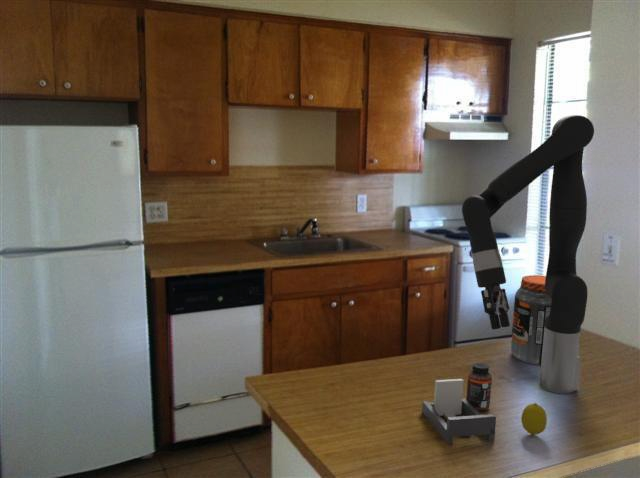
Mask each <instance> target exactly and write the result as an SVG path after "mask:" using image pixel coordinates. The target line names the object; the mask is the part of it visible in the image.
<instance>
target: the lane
mask: <svg viewBox="0 0 640 478" xmlns="http://www.w3.org/2000/svg"><path fill="white" fill-rule="evenodd" d="M421 409H422V410H421V413H422V414H423V415H424V417H425V419H427V420H428V422H429V423H430V425H432V427H433V428H434V429H435V431H436V432H437V433H438V434H439V436H440V437H441V438H442V440H443V441H444V443H446V444H447V445H448V446H450V445H453V444H454V438H456V437H459V438H460V437H467V436H480V435H481V436H482V435H483V436H484V438H486V439H487V440H488V441H489V442H495V436H496V426H497V425H496V424H497V416H496V415H495V414H494V413H492V414H491V413H489V414H481V413H480V412H479V411H478V410H476V409H475V408H474V407H473V406H472V405H471V404H470V403H469V402H468V401H467V400H466V398H465V397H464V398H463V397H462V409H461V414H463V415H462V416H457V417H448V418H447V419H446V421H445V420H444V419H443V418H442V416H440V415H439V414H438V413H437V412H436V411H435V410H434V401H433V402H429V401H428V400H423V401H422V407H421Z"/></svg>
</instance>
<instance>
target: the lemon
mask: <svg viewBox="0 0 640 478" xmlns="http://www.w3.org/2000/svg"><path fill="white" fill-rule="evenodd" d="M521 424H522V427H523V429H524V430H525V431H526V432H527V433H528V434H530V435H531V436H532V437H533V436H535V435H540V434H541V433H543V432H544V430H545V429H546V427H547V413H546V411H545V409H544V408H543V407H542V406H541V405H540V404H538V403H536V402H534V403H530V404H528V405H526V406H525V407H524V409H523V410H522V413H521Z"/></svg>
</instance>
